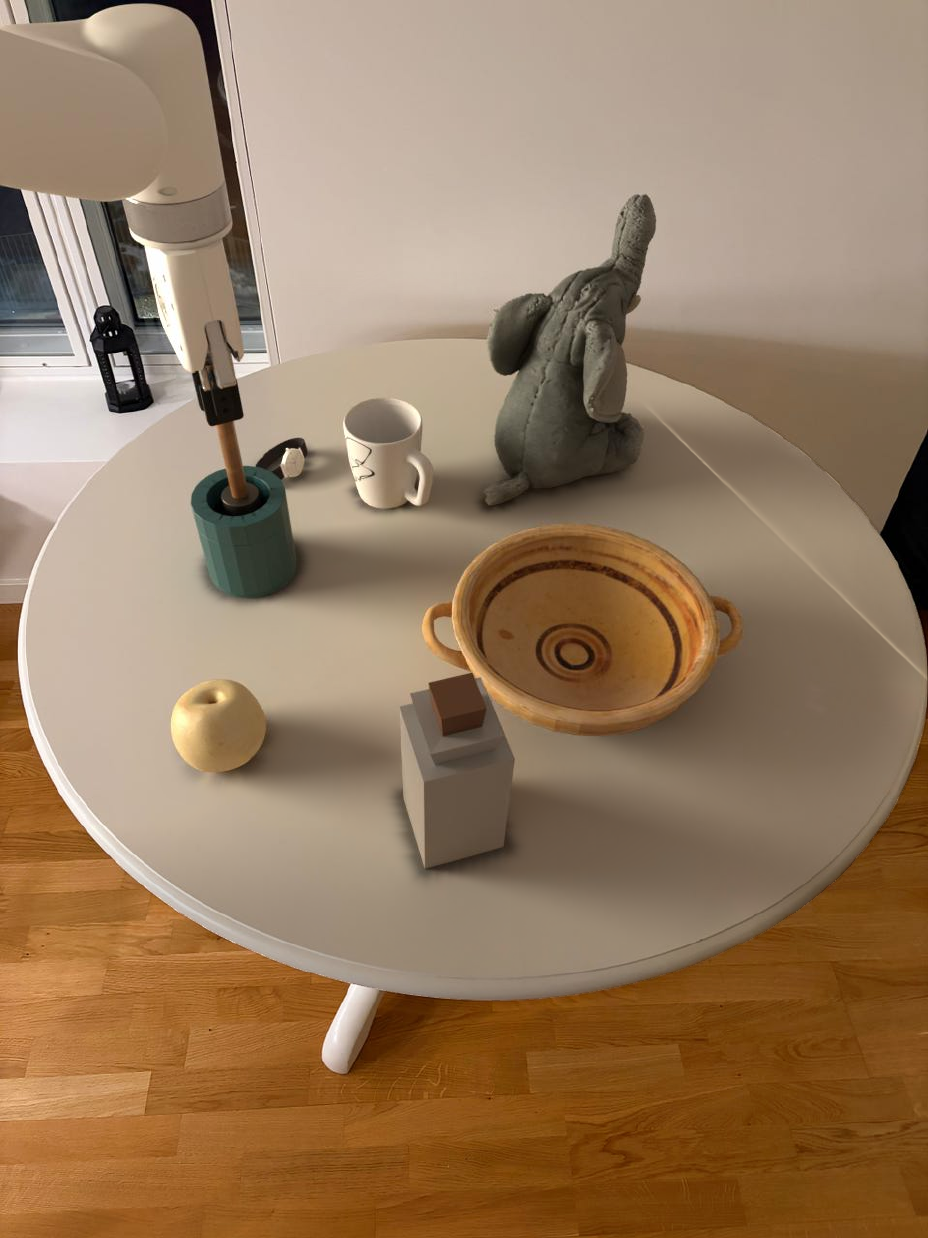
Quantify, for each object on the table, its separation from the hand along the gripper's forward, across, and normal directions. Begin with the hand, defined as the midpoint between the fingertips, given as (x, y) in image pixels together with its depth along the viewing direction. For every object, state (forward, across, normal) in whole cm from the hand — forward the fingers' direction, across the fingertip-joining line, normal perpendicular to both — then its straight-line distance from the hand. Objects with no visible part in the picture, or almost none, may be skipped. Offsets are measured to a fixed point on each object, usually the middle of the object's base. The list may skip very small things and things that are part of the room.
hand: (221, 412), depth 80 cm
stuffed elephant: (+20, -3, +39) cm, 44 cm away
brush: (+15, 0, 0) cm, 15 cm away
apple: (+20, +21, -9) cm, 30 cm away
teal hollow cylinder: (+20, 0, 0) cm, 20 cm away
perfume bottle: (+20, +36, +6) cm, 42 cm away
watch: (+20, -14, +8) cm, 25 cm away
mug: (+20, -4, +18) cm, 27 cm away
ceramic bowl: (+20, +26, +24) cm, 41 cm away
